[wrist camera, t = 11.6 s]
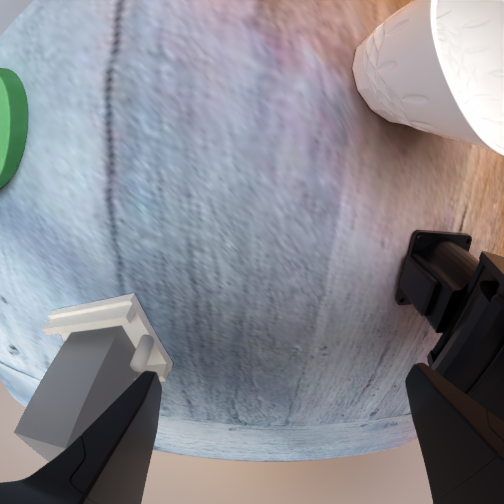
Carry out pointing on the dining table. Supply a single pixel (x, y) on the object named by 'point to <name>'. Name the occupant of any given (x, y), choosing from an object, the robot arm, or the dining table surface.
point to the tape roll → (11, 123)
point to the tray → (116, 314)
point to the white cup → (438, 70)
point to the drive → (77, 389)
